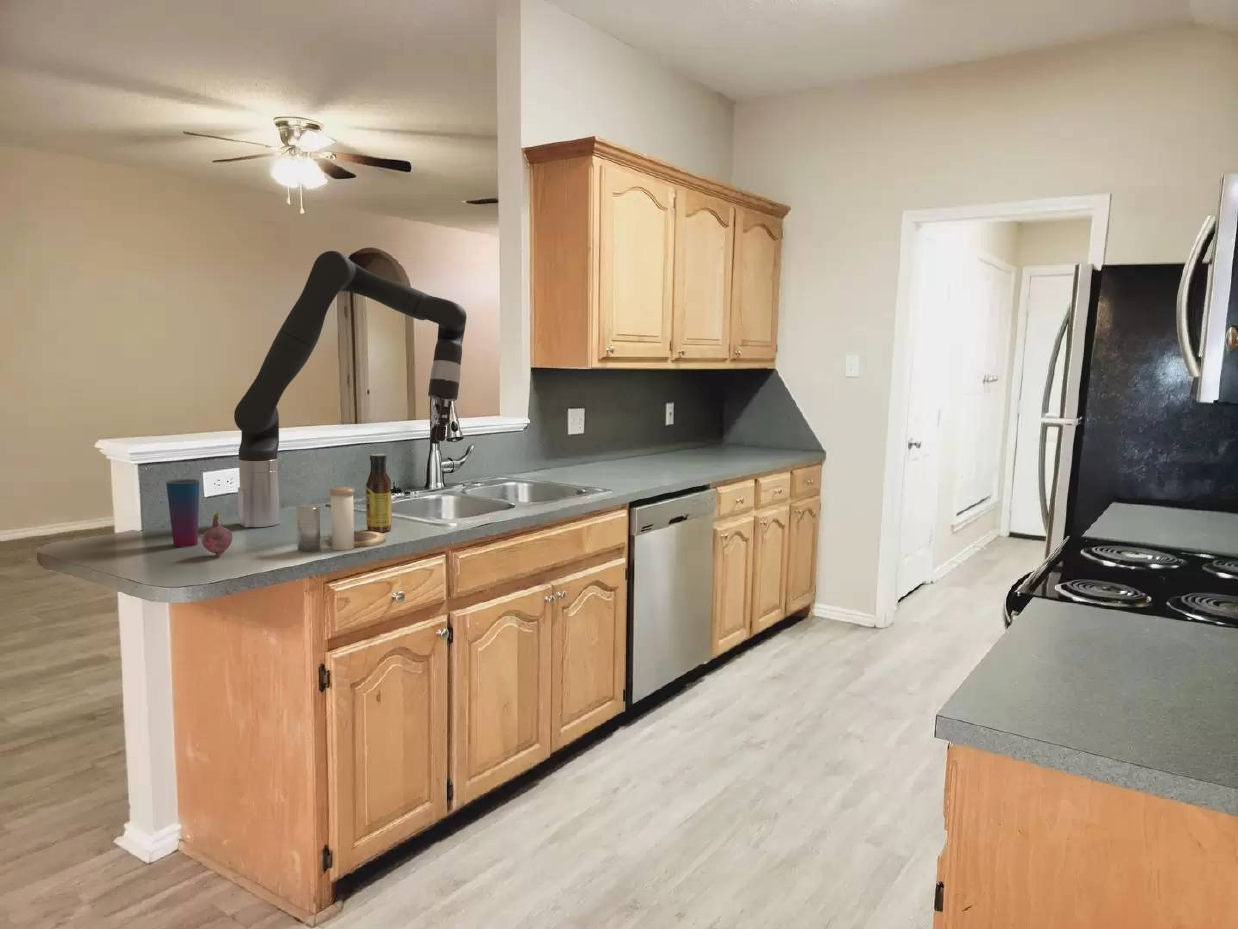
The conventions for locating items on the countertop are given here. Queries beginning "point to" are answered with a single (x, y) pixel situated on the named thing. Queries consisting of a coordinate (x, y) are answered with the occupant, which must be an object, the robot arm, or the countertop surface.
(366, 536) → the oak coaster
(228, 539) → the vegetable
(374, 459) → the sauce bottle
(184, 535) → the cup
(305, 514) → the spice tin
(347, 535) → the cream jar
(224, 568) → the countertop surface
